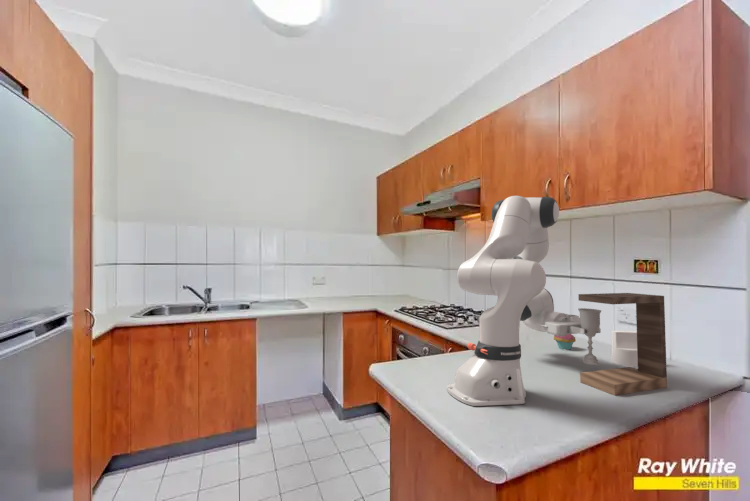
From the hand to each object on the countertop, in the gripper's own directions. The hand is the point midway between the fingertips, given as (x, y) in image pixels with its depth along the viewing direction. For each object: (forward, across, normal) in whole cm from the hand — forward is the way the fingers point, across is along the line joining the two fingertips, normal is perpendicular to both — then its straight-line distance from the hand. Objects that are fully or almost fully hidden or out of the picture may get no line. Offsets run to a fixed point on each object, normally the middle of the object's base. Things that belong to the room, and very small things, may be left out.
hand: (592, 331), depth 113 cm
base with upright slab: (-7, +25, +15) cm, 30 cm away
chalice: (-1, 0, +11) cm, 11 cm away
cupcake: (-31, +21, +15) cm, 40 cm away
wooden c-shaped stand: (+10, 0, +15) cm, 18 cm away
